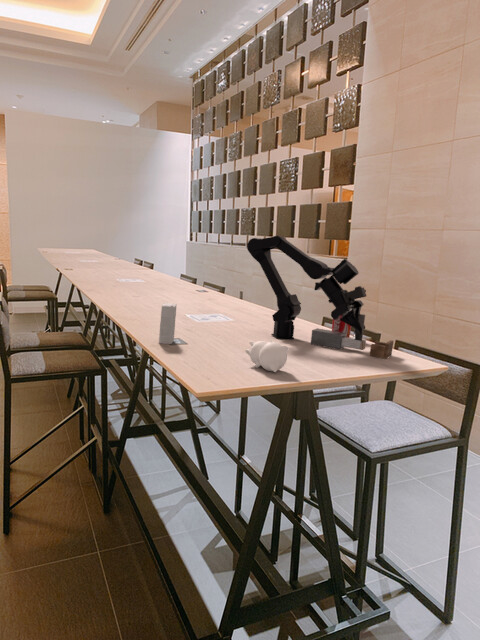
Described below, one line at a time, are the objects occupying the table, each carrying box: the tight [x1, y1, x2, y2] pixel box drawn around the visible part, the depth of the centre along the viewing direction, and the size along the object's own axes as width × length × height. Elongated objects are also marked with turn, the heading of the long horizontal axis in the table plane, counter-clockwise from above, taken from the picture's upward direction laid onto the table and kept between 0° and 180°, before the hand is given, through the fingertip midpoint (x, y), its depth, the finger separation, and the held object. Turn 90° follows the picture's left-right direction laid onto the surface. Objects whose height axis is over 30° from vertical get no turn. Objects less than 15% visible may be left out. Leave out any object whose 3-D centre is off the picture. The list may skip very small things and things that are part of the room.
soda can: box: [331, 316, 352, 337], centre depth 182 cm, size 7×7×12 cm
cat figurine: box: [244, 339, 289, 373], centre depth 131 cm, size 9×11×12 cm
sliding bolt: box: [341, 313, 367, 351], centre depth 164 cm, size 17×3×12 cm, turn 60°
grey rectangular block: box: [310, 327, 346, 350], centre depth 166 cm, size 10×5×5 cm, turn 60°
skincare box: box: [158, 302, 177, 345], centre depth 152 cm, size 6×4×12 cm
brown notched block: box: [369, 339, 394, 360], centre depth 157 cm, size 6×7×5 cm
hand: (362, 329), depth 160 cm, fingers closed on sliding bolt, 3 cm apart
